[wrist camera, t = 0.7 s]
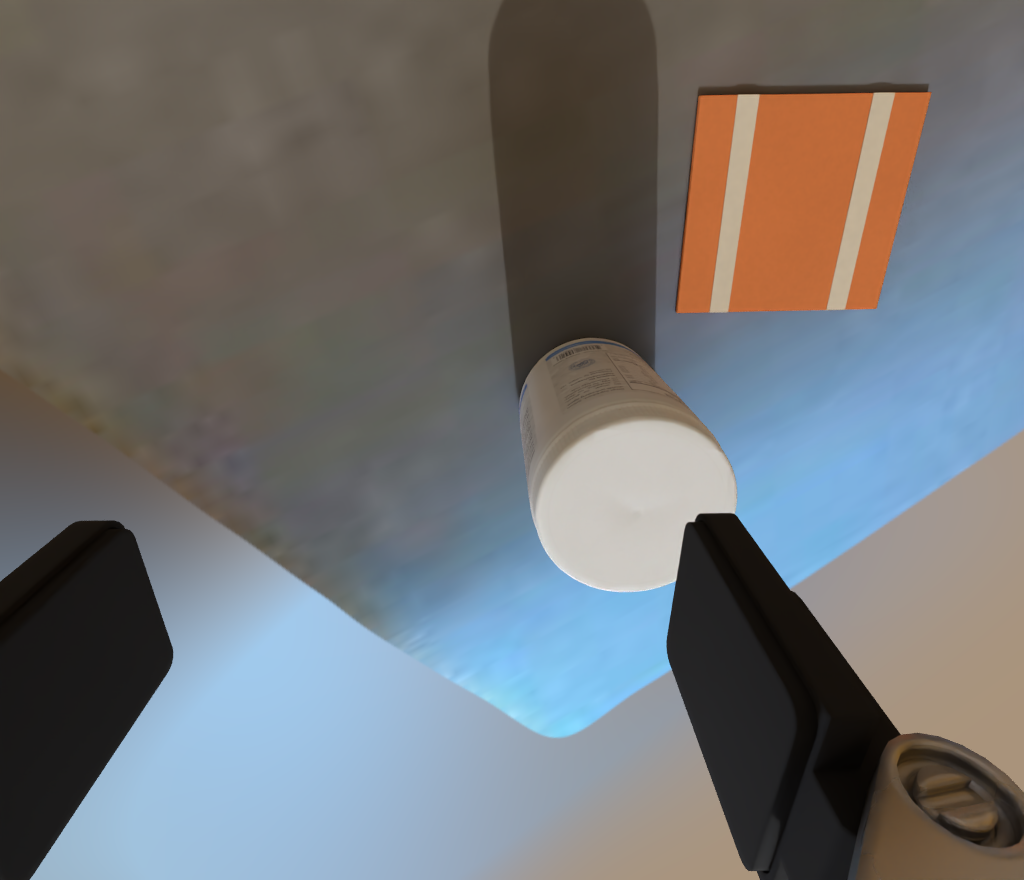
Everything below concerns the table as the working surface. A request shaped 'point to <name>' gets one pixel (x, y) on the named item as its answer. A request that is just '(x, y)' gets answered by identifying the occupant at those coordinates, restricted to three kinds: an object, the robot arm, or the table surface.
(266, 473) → the table surface
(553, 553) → the supplement tub
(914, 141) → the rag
